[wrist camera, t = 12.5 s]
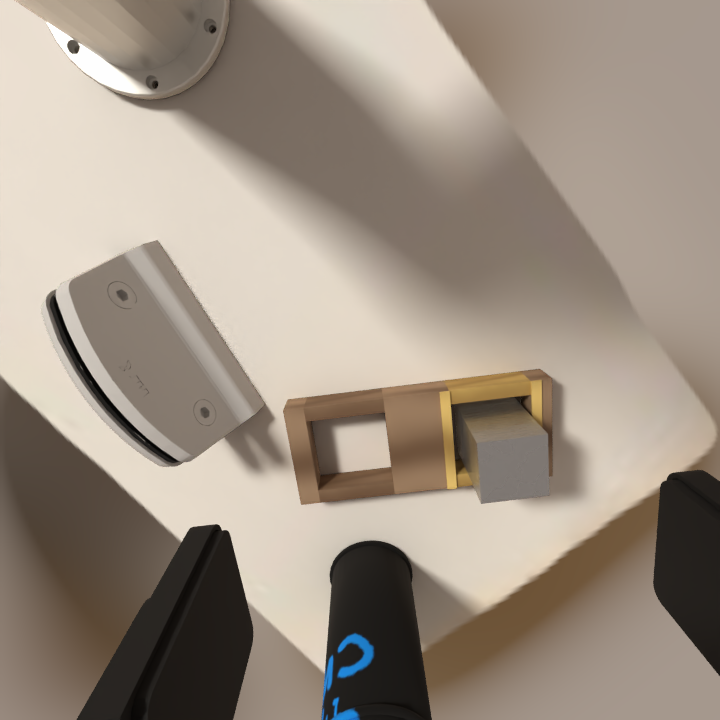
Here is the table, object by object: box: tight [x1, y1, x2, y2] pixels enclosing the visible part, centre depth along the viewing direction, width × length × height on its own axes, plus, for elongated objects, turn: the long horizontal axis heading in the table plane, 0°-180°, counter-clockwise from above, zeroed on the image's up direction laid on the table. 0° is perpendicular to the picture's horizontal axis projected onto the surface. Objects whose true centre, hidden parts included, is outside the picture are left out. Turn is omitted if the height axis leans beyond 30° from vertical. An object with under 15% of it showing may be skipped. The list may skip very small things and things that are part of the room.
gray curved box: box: [41, 241, 265, 467], centre depth 34 cm, size 17×5×10 cm, turn 29°
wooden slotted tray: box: [283, 369, 552, 505], centre depth 38 cm, size 9×22×3 cm, turn 97°
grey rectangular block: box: [454, 397, 549, 504], centre depth 36 cm, size 5×5×8 cm
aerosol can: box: [322, 541, 432, 720], centre depth 35 cm, size 8×8×20 cm
